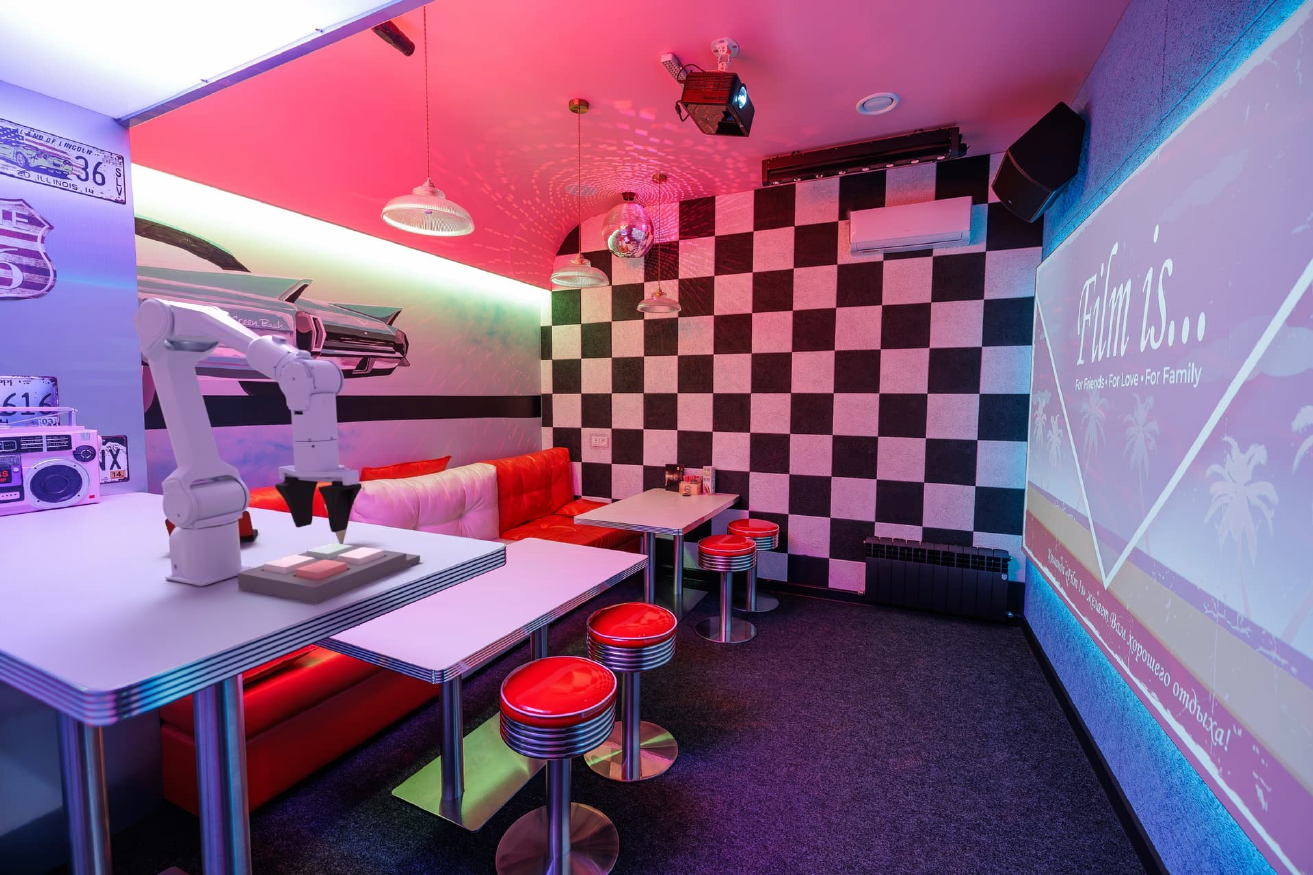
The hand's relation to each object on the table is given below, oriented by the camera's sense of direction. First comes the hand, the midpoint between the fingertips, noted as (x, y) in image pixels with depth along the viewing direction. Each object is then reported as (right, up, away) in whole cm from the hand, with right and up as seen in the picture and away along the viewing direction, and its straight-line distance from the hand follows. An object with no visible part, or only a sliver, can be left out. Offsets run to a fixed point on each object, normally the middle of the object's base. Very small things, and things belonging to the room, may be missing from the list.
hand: (321, 528), depth 82 cm
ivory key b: (+2, -6, +7) cm, 10 cm away
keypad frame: (-2, -9, +7) cm, 11 cm away
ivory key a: (-7, -7, +3) cm, 10 cm away
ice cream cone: (-10, -7, +23) cm, 26 cm away
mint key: (-4, -6, +10) cm, 12 cm away
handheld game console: (-36, -8, +24) cm, 44 cm away
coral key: (0, -7, +1) cm, 7 cm away
